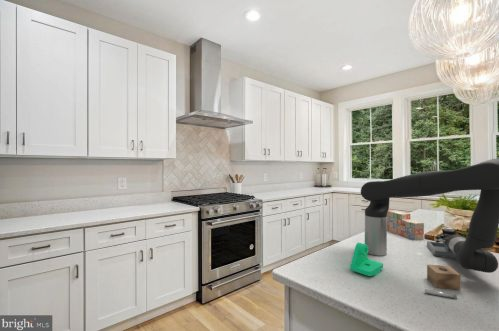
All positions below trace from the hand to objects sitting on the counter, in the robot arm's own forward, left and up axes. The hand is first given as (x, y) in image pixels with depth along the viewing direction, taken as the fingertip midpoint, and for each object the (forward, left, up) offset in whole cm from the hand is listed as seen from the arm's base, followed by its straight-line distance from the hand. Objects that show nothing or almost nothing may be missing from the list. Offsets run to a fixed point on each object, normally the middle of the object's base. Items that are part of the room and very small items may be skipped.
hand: (447, 235), depth 119 cm
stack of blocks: (-15, +23, -8) cm, 29 cm away
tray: (0, -3, -7) cm, 8 cm away
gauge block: (-11, -40, -7) cm, 42 cm away
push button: (0, -3, -6) cm, 7 cm away
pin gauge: (-14, -50, -7) cm, 52 cm away
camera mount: (-35, -39, -8) cm, 53 cm away
